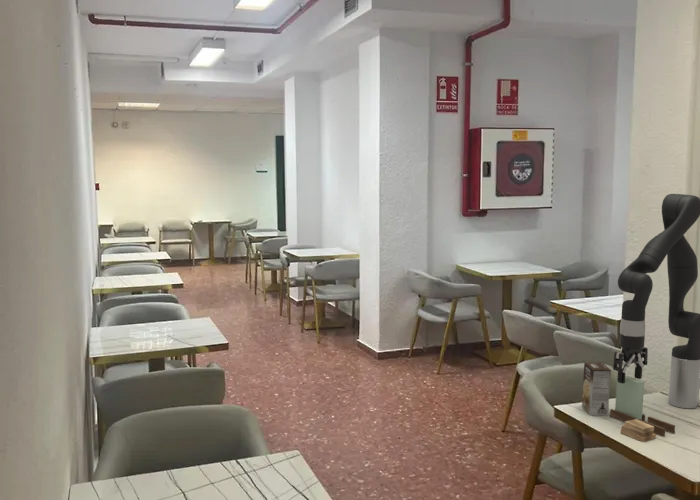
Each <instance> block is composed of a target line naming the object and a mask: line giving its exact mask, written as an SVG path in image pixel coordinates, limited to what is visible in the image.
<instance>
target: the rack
mask: <svg viewBox="0 0 700 500" xmlns="http://www.w3.org/2000/svg"><path fill="white" fill-rule="evenodd" d="M609 417H610V418H613V419H615V420H618V421H621V422H623V423H625V421H629V420H634V419H636V418H635V417H632V416H630V415H627V414H624V413H621V412H619V411H616V410H615V409H613V408H610V409H609ZM639 421H642V422H644V423H647V424H649V425H651V426H654V432H653V433H654V434H656V436H659V437H662V438H664V437H666V432H667V433H670V434H672V435H673V434H675V432H676V425H674V424H671V423H670V422H666V421H663V420H661V419H658V418H655V417H652V416H647V421H646V414H644V413H642V420H641V419H639Z"/></svg>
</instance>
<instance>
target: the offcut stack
mask: <svg viewBox="0 0 700 500" xmlns="http://www.w3.org/2000/svg"><path fill="white" fill-rule="evenodd" d="M653 432H654V426H651V425H649V424H647V423H644V422H642V421H639V420H637V419H634V420H629V421H625V422H624V424H622V425H621V429H620V434H621V435H624V436H627V437H629V438H632V439H634V440H637V441H640V442H642V443H644V442H645V443H646V442H648V441H652V440H655V439H656V438H657V434H654V433H653Z"/></svg>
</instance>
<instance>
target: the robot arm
mask: <svg viewBox="0 0 700 500" xmlns="http://www.w3.org/2000/svg"><path fill="white" fill-rule="evenodd" d="M661 216H662V223H663V228H664V230H663V231H661V232H660V233H658V234H657V235H655V236H654V237H653V238H651V239H650V240H649V241H648V242H647V243H646V244H645V245H644V247H643V249H642V250H641V252H640V253H639V255H638V257H637V258H636V259H635V260H633V261H632V262H631V263H629V265H627V267H625V268H624V269H623V270H622V271H621V272H620V274H619V276H618V279H617V287H618V288H619V289H620V291H623V292H624V293H629V294H632V295H633V294H634V295H633V298H632V299H627V300H624V301H623V302H622V305H621V306H622V307H621V320H620V324H619V341H618V342H619V344H618V345H619V346H620V347H621V351H620V352H618V351H615V352H614V353H613V354H614V356H613V365H612V369H613V371H617V376H618V382H619V383H622V384H623V383H625V376H626V371H627V368H629V367H630V366H631V364H634V365H635V366H634V378H635V379H638V380H642V378H643V369H644V367H645V366H647V365H648V355H649V353H648V352H649V351H648V350H649V349H648V347H645V339H646V320H645V319H646V308H647V306H648V301H649V298H650V296H651V293H652V291H653V288H654V287H653V286H654V285H653V279H652V277H651V276H650V275H649V274H651V273H656V271H657V270H658V269H659V268H660V266H661V265H662V263H663V261H664V260H665V258H666V263H667V277H668V318H667V319H668V328H669V332H670V333H671V335H673V336H677V337H681V338H685V339H687V340H688V341H687V343H686V344H682V345H680V344H679V345H676V346H673V347H672V349H671V356H670V357H671V358H670V372H669V373H670V374H669V386H668V398H667V399H668V400H667V402H668V404H669V405H671V406H673V407H677V408H680V409H681V408H682V409H696V408H697V407H698V405H699V398H700V397H699V396H700V313H697V312H692V311H688V310H685V309H684V304H685V303H684V302H685V298H686V295H687V294H688V293H689V291H690V290H691V289H692V287H693V286H694V285H695V283H696V281H697V279H698V278H699V277H698V276H699V272H698V271H699V270H698V269H699V267H698V258H697V255H696V253H695V250H694V249H693V248H692V246H691V244H690V243H689V241H688V240H687V239H686V236H685V234H686V233H687V232H688V231H689V229H690V228H691V227H692V226H693V225H694V224H695V223H696V222H697V220H698V219H699V218H700V197H698V196H697V195H692V194H682V193H669V194H668V193H667V195H665V197H664V198H663V200H662V204H661Z"/></svg>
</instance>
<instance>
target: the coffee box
mask: <svg viewBox="0 0 700 500" xmlns="http://www.w3.org/2000/svg"><path fill="white" fill-rule="evenodd" d="M611 374H612V370H611V369H610V368H609V367H608V366H607V365H606V364H605V363H604V362H603V361H585V362H584V364H583V379H582V380H583V381H582V397H581V398H582V399H581V407H582V408H583V409H584V410H585V411H586V413H587V414H588V415H589V416H595V417H596V416H597V417H599V416H605V417H607V416H609V403H610V401H609V400H610V388H611Z"/></svg>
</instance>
